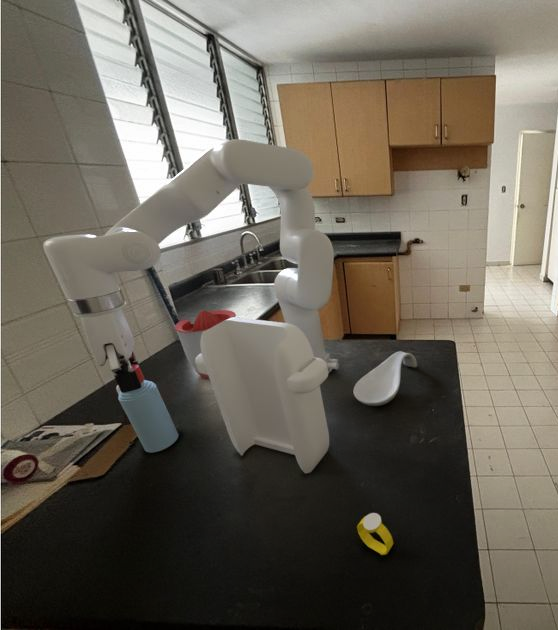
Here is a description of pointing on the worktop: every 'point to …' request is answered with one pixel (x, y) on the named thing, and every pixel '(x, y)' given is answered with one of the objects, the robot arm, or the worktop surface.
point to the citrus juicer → (199, 332)
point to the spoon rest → (383, 380)
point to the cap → (138, 372)
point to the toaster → (267, 387)
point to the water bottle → (149, 417)
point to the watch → (375, 525)
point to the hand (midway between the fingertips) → (133, 384)
